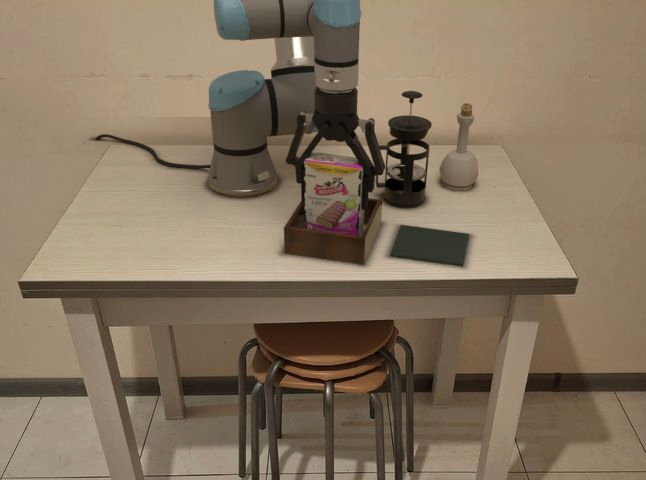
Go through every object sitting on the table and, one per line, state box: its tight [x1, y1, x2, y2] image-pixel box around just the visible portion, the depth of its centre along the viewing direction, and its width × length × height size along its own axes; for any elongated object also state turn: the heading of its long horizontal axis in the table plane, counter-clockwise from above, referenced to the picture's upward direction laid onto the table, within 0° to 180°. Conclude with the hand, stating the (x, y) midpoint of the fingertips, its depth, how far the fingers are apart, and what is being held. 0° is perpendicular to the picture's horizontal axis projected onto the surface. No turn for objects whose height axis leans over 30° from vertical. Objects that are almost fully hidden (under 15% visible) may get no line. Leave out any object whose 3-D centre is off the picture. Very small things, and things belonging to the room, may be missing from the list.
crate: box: [283, 197, 383, 265], centre depth 137 cm, size 16×17×6 cm
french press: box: [375, 90, 433, 209], centre depth 146 cm, size 12×9×23 cm
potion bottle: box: [439, 102, 479, 191], centre depth 154 cm, size 9×9×18 cm
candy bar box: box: [304, 151, 365, 236], centre depth 133 cm, size 11×5×16 cm, turn 77°
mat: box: [389, 224, 470, 267], centre depth 137 cm, size 14×12×1 cm
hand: (334, 202), depth 134 cm, fingers closed on candy bar box, 11 cm apart
